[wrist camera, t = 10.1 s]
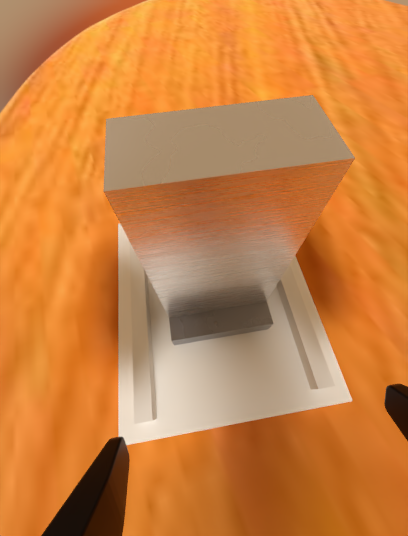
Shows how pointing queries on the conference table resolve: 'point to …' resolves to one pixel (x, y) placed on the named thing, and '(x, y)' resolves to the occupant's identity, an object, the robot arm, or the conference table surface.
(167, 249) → the tall brushed metal block
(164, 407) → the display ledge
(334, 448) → the conference table surface
